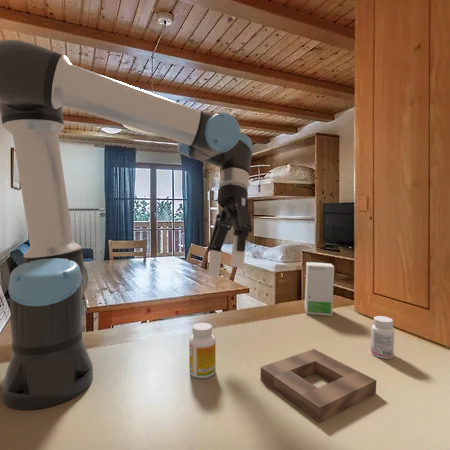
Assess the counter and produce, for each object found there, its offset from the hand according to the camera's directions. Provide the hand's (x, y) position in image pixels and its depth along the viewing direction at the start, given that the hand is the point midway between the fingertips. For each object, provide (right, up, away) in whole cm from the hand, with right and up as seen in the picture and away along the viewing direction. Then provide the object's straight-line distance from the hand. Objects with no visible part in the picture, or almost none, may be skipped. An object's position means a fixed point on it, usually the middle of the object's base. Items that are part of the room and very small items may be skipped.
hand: (224, 272), depth 74 cm
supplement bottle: (-4, -20, -8) cm, 22 cm away
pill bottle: (+37, -19, 0) cm, 41 cm away
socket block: (+18, -20, -13) cm, 29 cm away
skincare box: (+30, -17, +29) cm, 46 cm away
